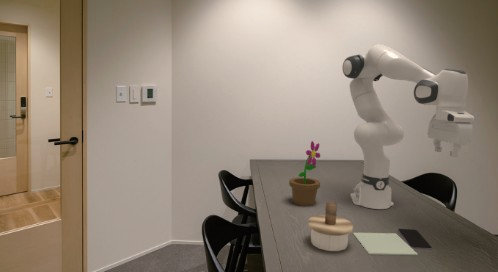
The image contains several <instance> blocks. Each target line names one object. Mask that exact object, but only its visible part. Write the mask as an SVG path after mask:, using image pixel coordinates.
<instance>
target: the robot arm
mask: <svg viewBox="0 0 498 272" xmlns="http://www.w3.org/2000/svg"><path fill="white" fill-rule="evenodd" d="M342 74H343V75H344V76H345V77H346V78H348V79H352V80H351V81H350V82H349V91H350V92H349V93H350V96H351V99H352V103H353V105H354V107H355V110H356V113H357V115H358V117H359V118H360V119H362V120H363V121H365V123H361V124H359V125H357V126H356V127H355V129H354V133H353V138H354V141H355V142H356V144H358V145H359V147H360V148H361V150H362V153H363V173H362V175H361V179H360V181H359V183H357V184H356V186H355V187H353V189H352V190H353V192H352V193H350V194H349V195H350V198H351V201H352V203H353V204H354V205H355V206H360V207H365V208H369V209H375V210H387V209H389V208H390V207H392V206H394V204H395V203H394V202H393V201H392V188H391V186H389V185H390V176H389V175H390V165H391V164H390V163H391V162H390V159H389V157H388V156H386V154H385V152H384V147H388V146H394V145H396V144H398V143H400V142H401V141H403V138H404V136H405V134H404V133H405V132H404V129H403V127H402V126H401V125H400V124H399V123H397V122H396V121H394V120H393V119H392V118H391V117H390V116H389V114H388V113H387V111H386V110H385V109H384V107H383V106H382V104H381V101H380V99H379V98H378V95H377V93H376V90H375V88H374V82H378V81H380V78H382V77H385V78H388V79H390V80H398V81H406V82H412V83H415V85H414V86H415V87H414V88H413V97H414V99H415V101H416V102H417V103H418V104H421V105H424V106H425V105H426V106H436V108H435V114H433V115H432V117H431V119H430V121H429V124H428V128H427V137H428V138H430V139H433V145H434V152H436V153H442V148H443V147H442V146H441V143H442V142H445V143H449V144H452V147H453V148H452V150H451V151H450V154H449V156H450V157H453V158H457V157H458V155H459V152H460V150H461V149H462V146H469V145H471V143H472V139H473V133H474V132H473V130H474V127H473V126H474V125H473V123H474V122H475V116H474V115H472V114H470V113H469V112H467V111H466V107H467V106H466V99H467V96H468V89H469V87H468V86H469V77H468V74H467V72H466V71H464V70H461V69H453V68H445V69H442V70H441V71H440V72H439V73H437V74H435V73H434V72H432V71H430V70H428V69H426V68H425V67H423V66H421V65H419V64H417V63H416V62H414V61H412V60H411V59H409V58H408V57H406V56H405V55H403V54H402V53H400V52H399V51H398V50H396V49H394V48H392V47H390V46H388V45H385V44H382V43H377V44H375V45H372V46H371V47H370V48H369V50H368V51H367V53H366V54H356V55H351V56H348V57H346V58H345V59H344V61H343V64H342Z"/></svg>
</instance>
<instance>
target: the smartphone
mask: <svg viewBox="0 0 498 272" xmlns="http://www.w3.org/2000/svg"><path fill="white" fill-rule="evenodd" d="M397 232H398V234H399V235H400V236H401V238H402V240H403V241H404V242H405V243H407V244H408V245H409V246H410V247H411V248H412V249H418V250H419V249H420V250H433V247H432V246H431V245H430V243H429V242H428V241H427V240H426V239H425V237H424V236H422V234H421V233H420V231H418V230H417V229H412V228H411V229H410V228H397Z"/></svg>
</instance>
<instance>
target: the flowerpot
mask: <svg viewBox="0 0 498 272" xmlns="http://www.w3.org/2000/svg"><path fill="white" fill-rule="evenodd" d="M319 148H320V143H319V142H317V144H315V142H314V140H312V141H311V143H310V150H309V149H307V150H306V151H305V153H306V156H307V159H306V160H305V164H304V169H303V171H301V172H299V174H298V177H292V178H291V179H289V181H288V182H289V183H288V184H289V185H288V186H290V188H291V195H292V204H295V205H296V206H301V207H310V206H314V205H315V203H316V199H317V193H318V189H319V188H321V181H320V180H317V179H315V178H310V177H307V171H312V170H314V169H316V168H317V166H316V164H317V159H319V158H321V153H320V152H317V151H319ZM316 158H317V159H316Z"/></svg>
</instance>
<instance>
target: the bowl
mask: <svg viewBox="0 0 498 272" xmlns="http://www.w3.org/2000/svg"><path fill="white" fill-rule="evenodd" d="M310 230H311V232H310V242H311V244H312V245H313V246H314V247H316V248H317V249H319V250H324V251H327V252H341V251H344V250H346V249H347V247H348V246H349V245H348V244H349V234H347V235H340V236H334V235H326V234H322V233H318V232H316V231H314V230H312V229H311V228H310Z"/></svg>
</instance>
